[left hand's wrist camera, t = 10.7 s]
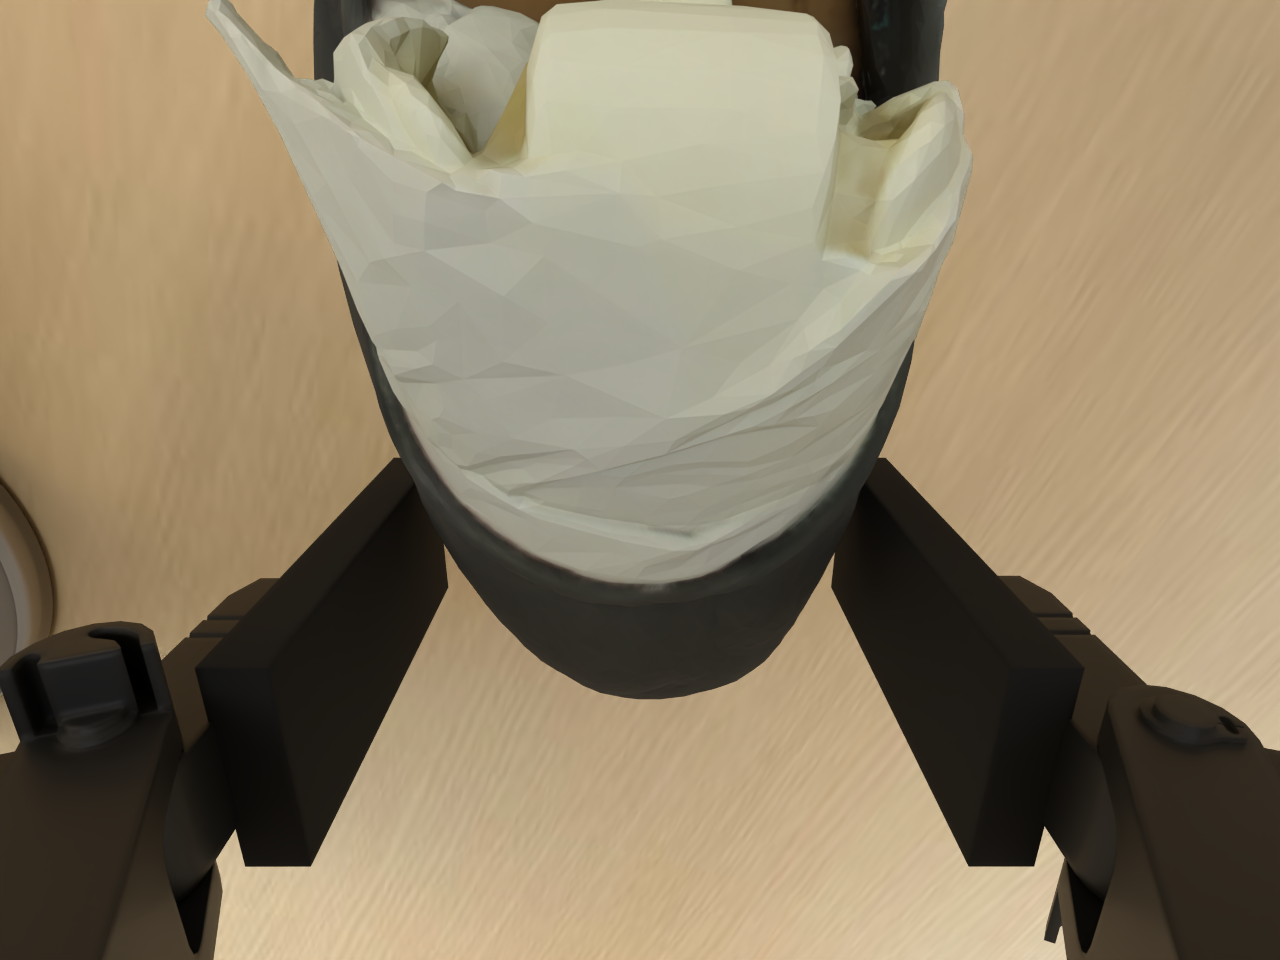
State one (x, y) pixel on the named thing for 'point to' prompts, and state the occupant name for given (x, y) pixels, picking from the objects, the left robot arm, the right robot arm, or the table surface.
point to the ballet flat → (631, 291)
